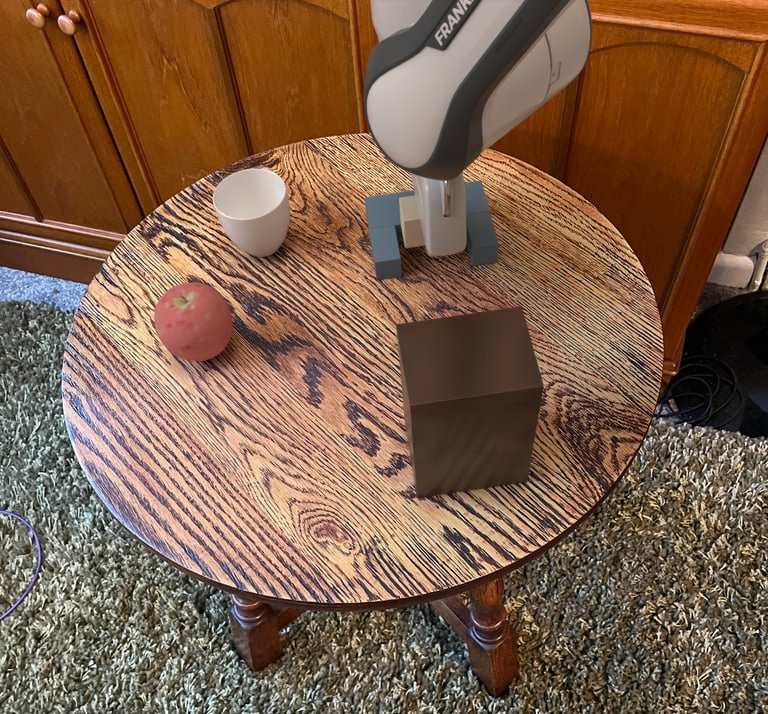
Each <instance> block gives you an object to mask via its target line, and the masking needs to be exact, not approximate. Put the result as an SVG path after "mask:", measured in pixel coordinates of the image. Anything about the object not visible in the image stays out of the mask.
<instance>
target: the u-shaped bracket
mask: <svg viewBox="0 0 768 714" xmlns="http://www.w3.org/2000/svg"><path fill="white" fill-rule="evenodd" d="M464 184H465V194H466V248H467V250H468V251H467V252H468V255H469V259H470V263H471V266H472V267H474V266H481V265H487V264H494V263H498V261H499V246H500V244H499V241H498V237H497V233H496V230H495V226H494V221H493V219H492V214H491V210H490V206H489V203H488V198H487V196H486V192H485V188H484V184H483V181H482V179H480V180H475V181H474V180H473V181H468V182H464ZM408 196H415V193H414V189H412V190H405V191H399V192H392V193H385V194H377V195H370V196H365V197H364V198H363V199H364V207H365V213H366V214H365V216H366V221H367V222H366V223H367V229H368V234H369V235H368V236H369V240H370V247H371V253H372V259H373V266H374V272H375V278H376V281H378V280H386V279H392V278H400V277H403V271H402V257H401V252H400V251H401V250H400V247H399V244H400V243H404V238H403V233H402V228H401V218H400V204H399V198H401V197H408Z"/></svg>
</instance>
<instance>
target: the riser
mask: <svg viewBox="0 0 768 714" xmlns="http://www.w3.org/2000/svg"><path fill="white" fill-rule="evenodd" d="M395 329H396V340H397V350H398V351H397V352H398V362H399V373H400V384H401V394H402V395H401V397H402V406H403V407H402V408H403V417H404V427H405V435H406V439H407V440H406V441H407V446H408V451H409V458H410V465H411V470H412V471H411V472H412V477H413V484H414V489H415V494H416V498H417V499H419V498H425V497H431V496H432V497H433V496H439V495H440V496H441V495H447V494H453V493H461V492H467V491H474V490H481V489H489V488H494V487H495V488H497V487H501V486H509V485H515V484H516V485H517V484H522V483H523V484H524V483H527V482H528V479H529V474H530V468H531V461H532V457H533V451H534V444H535V440H536V435H537V434H536V433H537V428H538V423H539V418H540V417H539V416H540V412H541V405H542V399H543V394H544V387H545V385H544V382H543V379H542V374H541V371H540V367H539V363H538V360H537V356H536V352H535V349H534V346H533V342H532V339H531V335H530V334H531V333H530V330H529V327H528V323H527V320H526V317H525V313H524V309H523V306H522V305H519V306H512V307H503V308H498V309H491V310H484V311H478V312H471V313H464V314H457V315H451V316H444V317H437V318H429V319H423V320H416V321H409V322H402V323H396V324H395Z"/></svg>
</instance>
